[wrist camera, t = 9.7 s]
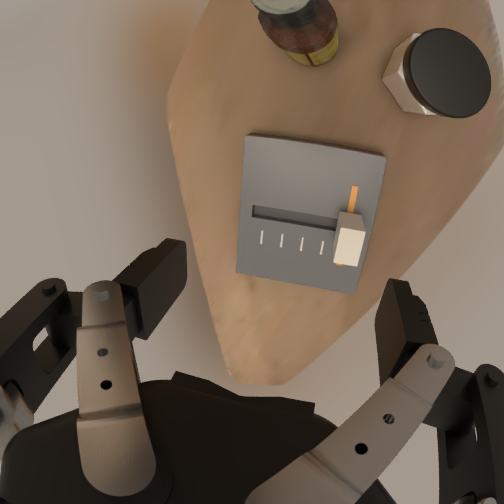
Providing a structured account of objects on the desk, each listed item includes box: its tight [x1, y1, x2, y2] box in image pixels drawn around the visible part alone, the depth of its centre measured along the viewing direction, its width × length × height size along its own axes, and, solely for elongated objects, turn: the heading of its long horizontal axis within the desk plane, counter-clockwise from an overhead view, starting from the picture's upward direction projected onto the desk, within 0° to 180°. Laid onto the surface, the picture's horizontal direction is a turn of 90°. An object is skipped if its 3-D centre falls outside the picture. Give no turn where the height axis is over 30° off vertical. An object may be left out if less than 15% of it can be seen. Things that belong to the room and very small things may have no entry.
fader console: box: [236, 133, 387, 294], centre depth 38 cm, size 18×16×3 cm
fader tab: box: [333, 211, 366, 267], centre depth 34 cm, size 4×3×6 cm, turn 175°
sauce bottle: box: [251, 0, 339, 66], centre depth 21 cm, size 7×6×20 cm
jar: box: [382, 28, 491, 118], centre depth 24 cm, size 9×8×12 cm
